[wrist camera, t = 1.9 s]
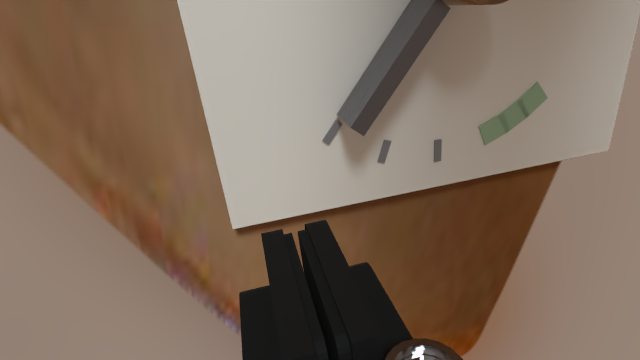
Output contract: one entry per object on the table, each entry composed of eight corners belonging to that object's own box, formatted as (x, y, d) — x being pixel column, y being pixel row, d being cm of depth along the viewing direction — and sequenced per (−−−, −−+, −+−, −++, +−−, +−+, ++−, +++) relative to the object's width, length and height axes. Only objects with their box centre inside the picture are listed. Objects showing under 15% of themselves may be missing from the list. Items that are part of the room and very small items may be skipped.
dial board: (159, -82, 19) (155, -88, 18) (652, -122, 24) (675, -129, 23) (232, 220, 27) (232, 230, 26) (595, 145, 32) (610, 151, 31)
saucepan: (441, -102, 21) (501, -133, 16) (493, -48, 22) (560, -62, 18) (314, 100, 23) (335, 122, 19) (369, 135, 25) (400, 162, 21)
